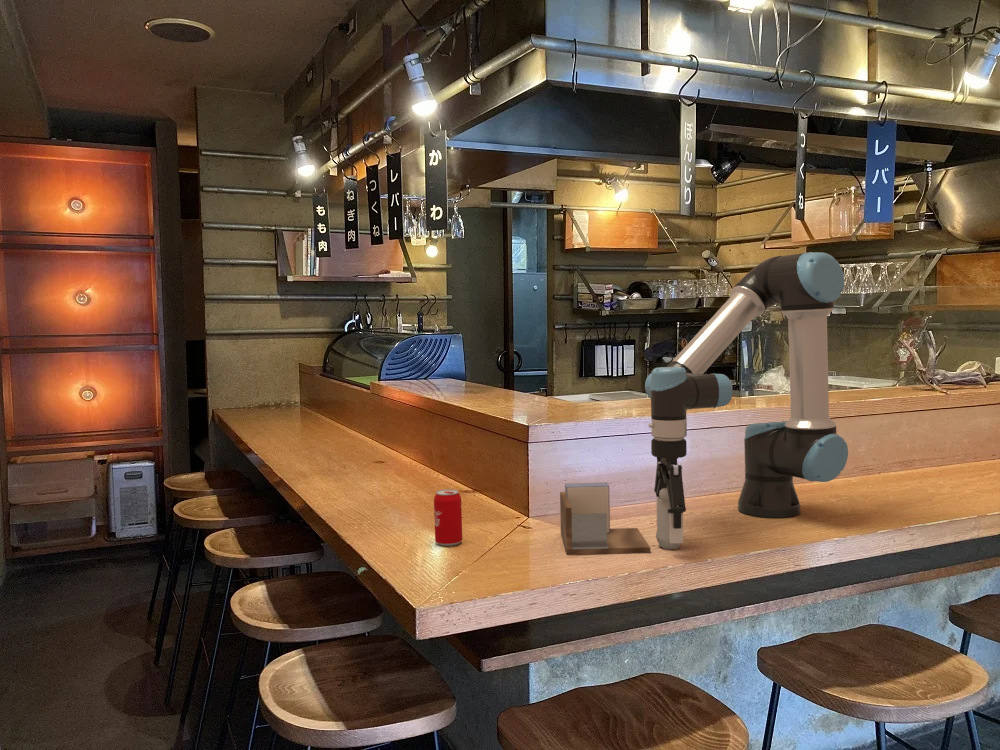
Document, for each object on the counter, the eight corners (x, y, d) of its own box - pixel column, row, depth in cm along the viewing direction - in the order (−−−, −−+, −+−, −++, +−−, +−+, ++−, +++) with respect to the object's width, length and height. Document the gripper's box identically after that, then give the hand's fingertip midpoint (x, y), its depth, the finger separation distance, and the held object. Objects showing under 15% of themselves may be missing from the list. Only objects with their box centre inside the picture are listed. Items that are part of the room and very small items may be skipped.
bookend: (606, 544, 173) (606, 512, 173) (608, 548, 170) (608, 516, 169) (570, 545, 173) (570, 513, 173) (572, 549, 170) (571, 517, 169)
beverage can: (448, 538, 186) (446, 487, 185) (468, 542, 182) (466, 490, 181) (429, 544, 181) (428, 492, 180) (449, 548, 177) (448, 495, 176)
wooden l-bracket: (637, 533, 186) (636, 490, 185) (650, 552, 170) (649, 506, 170) (560, 534, 186) (560, 491, 185) (566, 554, 170) (565, 507, 170)
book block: (607, 528, 186) (606, 482, 185) (610, 533, 182) (609, 486, 181) (565, 529, 186) (565, 483, 185) (567, 534, 182) (566, 487, 181)
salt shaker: (663, 551, 171) (663, 492, 170) (651, 544, 176) (651, 487, 175) (688, 549, 172) (687, 490, 171) (675, 542, 178) (674, 485, 177)
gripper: (641, 430, 185) (642, 520, 186) (663, 447, 160) (664, 550, 162) (673, 430, 185) (673, 519, 186) (700, 446, 160) (700, 550, 162)
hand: (669, 534), depth 174 cm, fingers open, 13 cm apart
